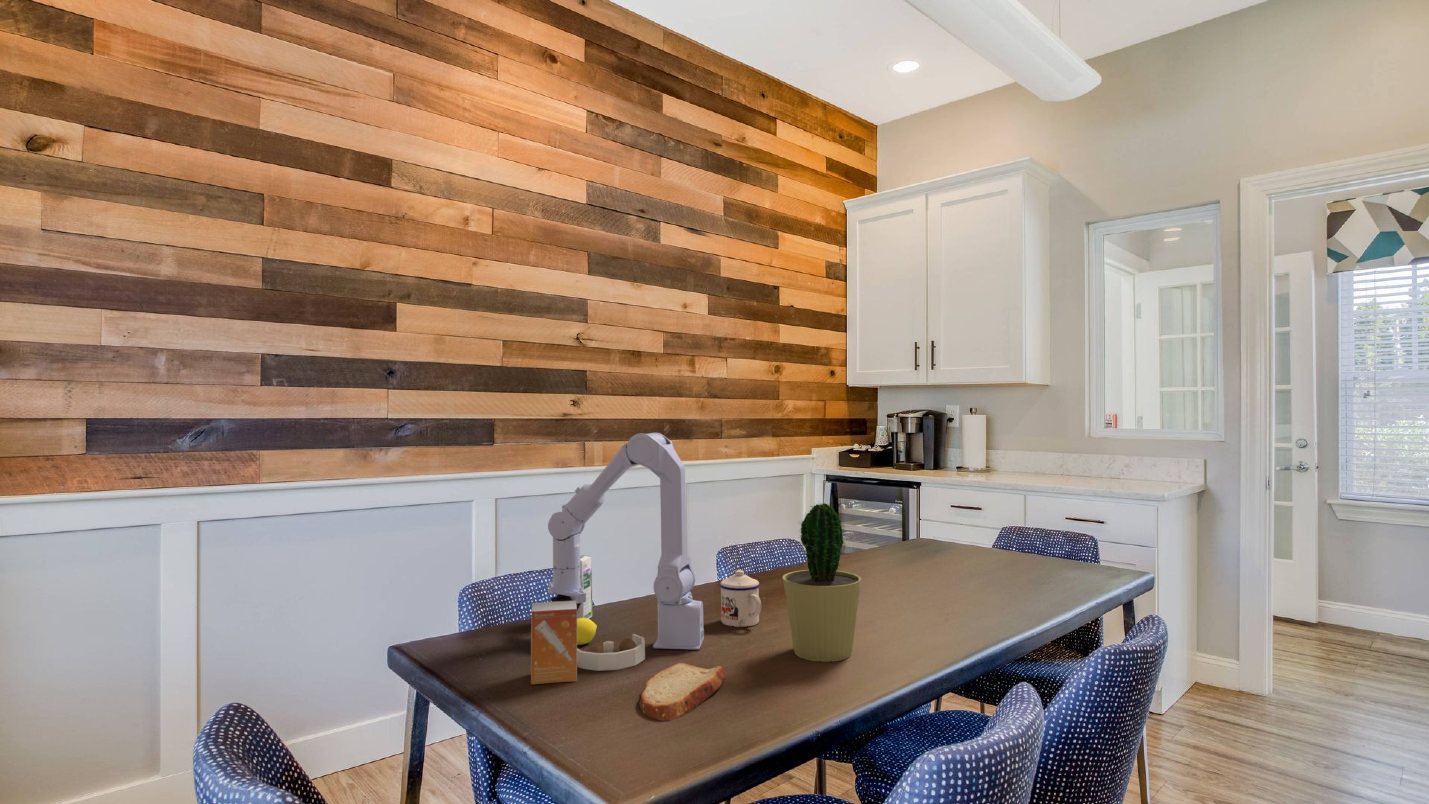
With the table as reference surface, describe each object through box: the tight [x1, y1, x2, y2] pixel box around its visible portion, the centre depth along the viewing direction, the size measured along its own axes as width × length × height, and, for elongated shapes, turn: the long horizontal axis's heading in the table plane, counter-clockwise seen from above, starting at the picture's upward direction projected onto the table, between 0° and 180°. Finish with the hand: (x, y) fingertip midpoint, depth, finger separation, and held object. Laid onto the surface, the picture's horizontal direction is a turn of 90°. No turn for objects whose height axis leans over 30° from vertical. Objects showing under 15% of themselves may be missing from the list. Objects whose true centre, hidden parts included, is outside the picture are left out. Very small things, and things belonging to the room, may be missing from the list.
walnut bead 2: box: [618, 637, 636, 652], centre depth 144 cm, size 3×3×3 cm
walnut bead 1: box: [586, 644, 604, 653], centre depth 140 cm, size 3×3×3 cm
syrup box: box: [577, 554, 594, 620], centre depth 171 cm, size 6×6×14 cm
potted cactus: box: [782, 501, 862, 663], centre depth 146 cm, size 15×15×30 cm
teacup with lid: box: [719, 569, 762, 628], centre depth 166 cm, size 12×9×12 cm
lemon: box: [577, 618, 598, 646], centre depth 153 cm, size 7×5×5 cm
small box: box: [530, 600, 578, 685], centre depth 133 cm, size 8×6×13 cm
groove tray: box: [577, 633, 646, 672], centre depth 143 cm, size 12×14×3 cm
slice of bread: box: [639, 662, 727, 721], centre depth 124 cm, size 18×18×4 cm
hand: (566, 630), depth 158 cm, fingers closed
